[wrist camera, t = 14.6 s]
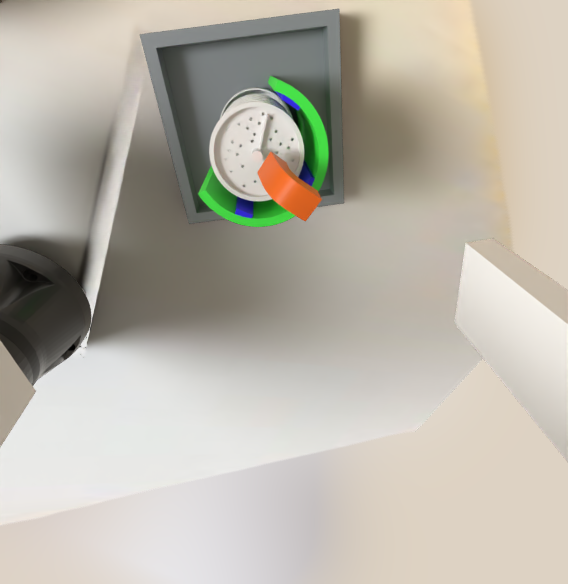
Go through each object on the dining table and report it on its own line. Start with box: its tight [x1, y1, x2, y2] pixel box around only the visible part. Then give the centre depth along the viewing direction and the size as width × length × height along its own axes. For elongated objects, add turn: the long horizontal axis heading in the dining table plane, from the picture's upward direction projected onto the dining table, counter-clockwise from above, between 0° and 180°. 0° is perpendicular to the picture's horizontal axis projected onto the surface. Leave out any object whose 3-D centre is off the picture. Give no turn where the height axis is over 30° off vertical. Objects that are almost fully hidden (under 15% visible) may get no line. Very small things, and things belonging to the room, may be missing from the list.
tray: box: [140, 9, 344, 224], centre depth 35 cm, size 16×16×3 cm
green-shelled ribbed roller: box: [198, 76, 329, 227], centre depth 28 cm, size 9×8×18 cm
